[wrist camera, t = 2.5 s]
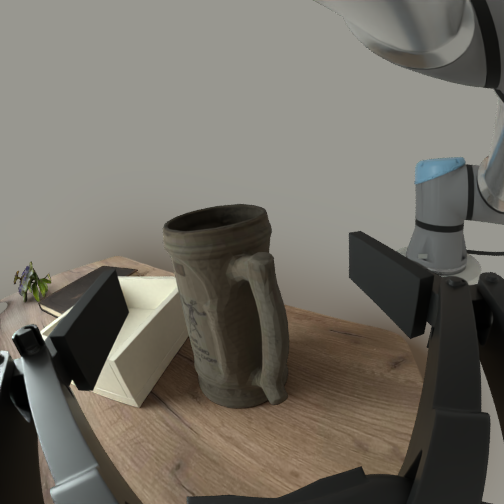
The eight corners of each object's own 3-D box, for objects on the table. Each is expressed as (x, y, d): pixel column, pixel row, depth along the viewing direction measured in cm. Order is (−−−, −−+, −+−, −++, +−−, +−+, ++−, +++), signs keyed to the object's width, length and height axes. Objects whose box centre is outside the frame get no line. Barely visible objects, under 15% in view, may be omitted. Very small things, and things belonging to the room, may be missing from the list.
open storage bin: (202, 316, 47) (192, 276, 44) (139, 408, 28) (114, 361, 25) (124, 311, 51) (113, 276, 49) (55, 377, 32) (33, 336, 30)
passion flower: (33, 318, 61) (12, 285, 60) (59, 296, 69) (37, 265, 68) (29, 307, 53) (6, 271, 52) (58, 283, 61) (35, 249, 60)
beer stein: (182, 370, 34) (141, 220, 26) (247, 336, 40) (231, 196, 32) (257, 451, 23) (228, 267, 15) (331, 394, 28) (347, 219, 21)
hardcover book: (140, 277, 67) (137, 269, 66) (68, 324, 47) (64, 314, 47) (103, 273, 74) (101, 265, 73) (40, 309, 54) (37, 301, 53)
